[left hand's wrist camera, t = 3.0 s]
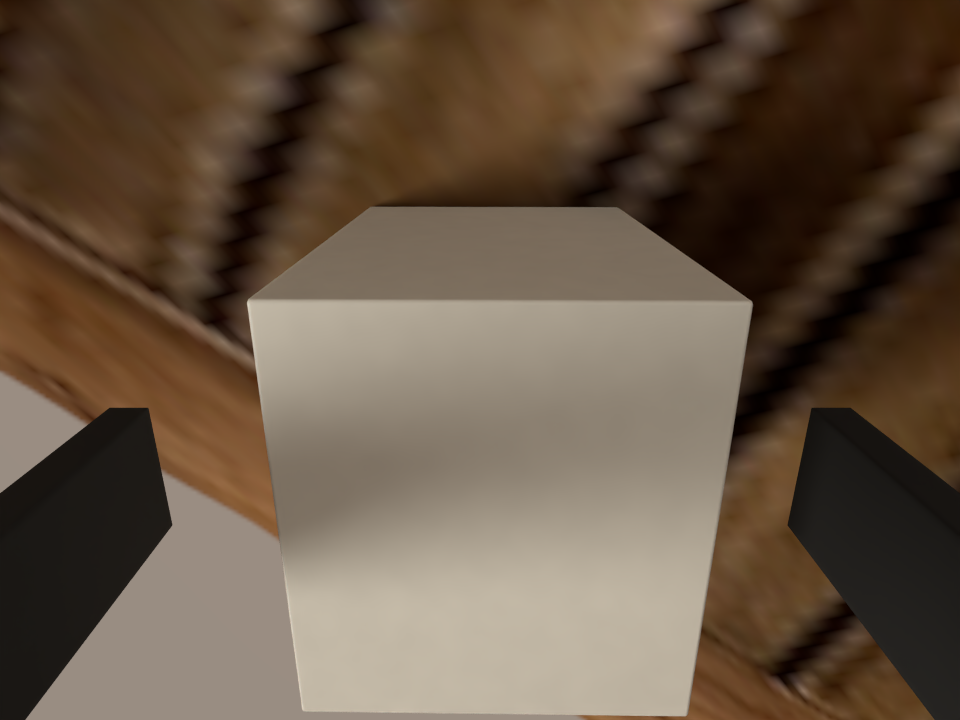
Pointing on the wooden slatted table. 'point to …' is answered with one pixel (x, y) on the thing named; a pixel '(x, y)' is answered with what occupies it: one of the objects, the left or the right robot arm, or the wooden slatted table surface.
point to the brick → (497, 459)
